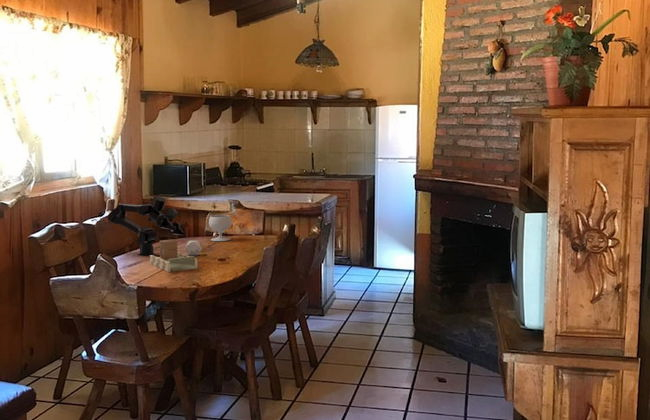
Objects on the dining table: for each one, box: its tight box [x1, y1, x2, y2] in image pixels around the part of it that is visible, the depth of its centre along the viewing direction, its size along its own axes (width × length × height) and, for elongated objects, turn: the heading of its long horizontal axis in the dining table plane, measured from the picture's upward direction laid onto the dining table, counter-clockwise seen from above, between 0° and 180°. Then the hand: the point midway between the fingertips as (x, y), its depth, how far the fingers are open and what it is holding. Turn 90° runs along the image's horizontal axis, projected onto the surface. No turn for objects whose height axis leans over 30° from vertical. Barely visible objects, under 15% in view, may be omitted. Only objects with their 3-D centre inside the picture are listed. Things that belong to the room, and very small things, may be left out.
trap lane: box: [149, 251, 198, 273], centre depth 335 cm, size 24×15×6 cm, turn 35°
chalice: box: [208, 214, 233, 242], centre depth 411 cm, size 14×14×15 cm
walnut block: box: [159, 238, 178, 260], centre depth 339 cm, size 6×7×9 cm
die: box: [184, 240, 203, 257], centre depth 364 cm, size 8×9×10 cm
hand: (179, 232), depth 352 cm, fingers open, 9 cm apart
